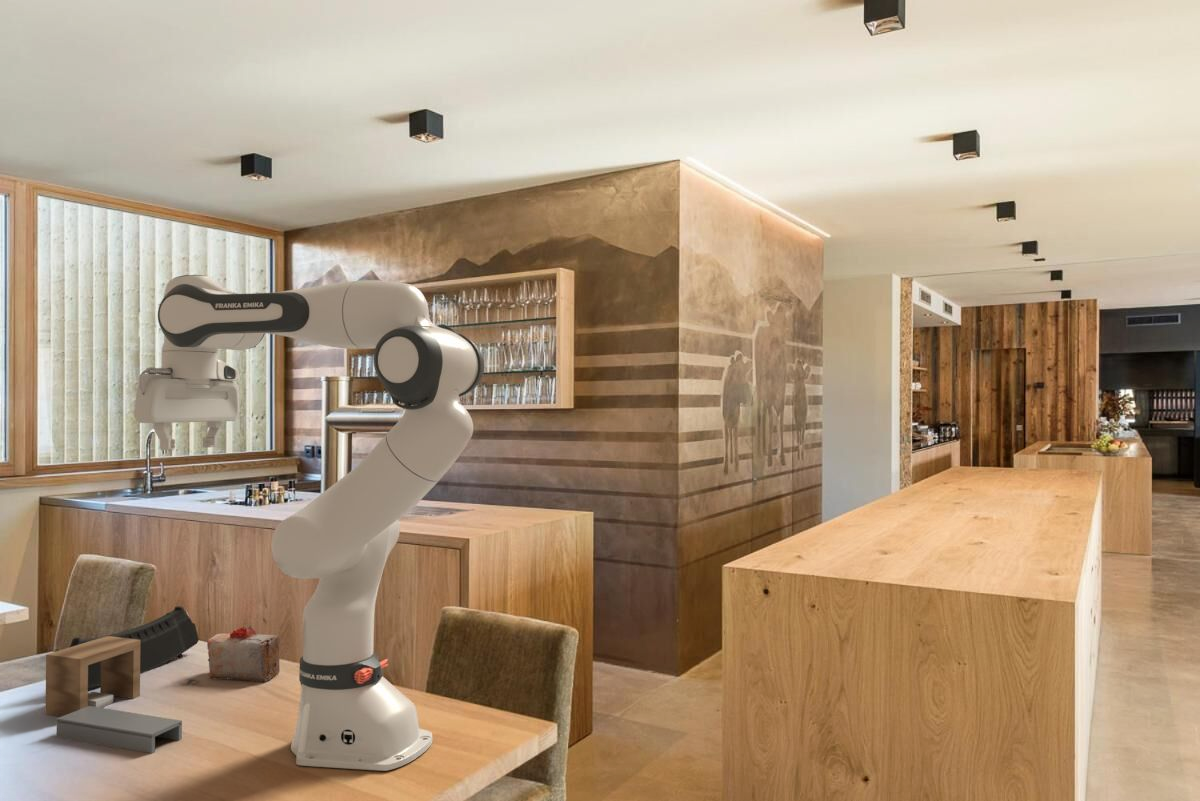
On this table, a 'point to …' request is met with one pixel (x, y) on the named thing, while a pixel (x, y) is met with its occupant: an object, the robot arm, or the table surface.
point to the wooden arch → (72, 674)
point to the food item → (244, 655)
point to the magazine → (153, 642)
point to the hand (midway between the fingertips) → (189, 448)
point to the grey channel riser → (117, 728)
